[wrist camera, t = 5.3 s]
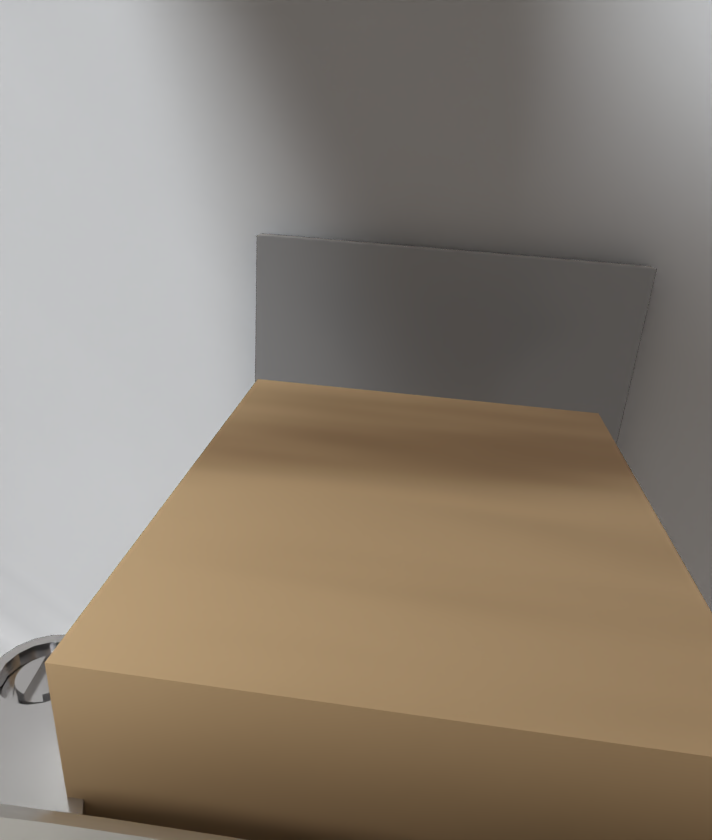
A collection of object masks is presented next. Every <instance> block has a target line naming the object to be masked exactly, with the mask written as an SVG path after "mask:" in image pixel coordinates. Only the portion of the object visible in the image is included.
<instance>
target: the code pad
mask: <svg viewBox="0 0 712 840" xmlns="http://www.w3.org/2000/svg"><path fill="white" fill-rule="evenodd" d="M656 270H657V269H656V268H653V267H651V266H645V265H633V264H621V263H609V262H597V261H585V260H573V259H561V258H549V257H538V256H526V255H514V254H502V253H490V252H478V251H466V250H454V249H442V248H430V247H418V246H406V245H395V244H383V243H371V242H359V241H347V240H335V239H323V238H311V237H299V236H287V235H275V234H264V233H262V234H259V235H257V259H256V345H255V382H256V381H257V379H263V380H273V381H283V382H293V383H303V384H312V385H322V386H332V387H342V388H352V389H362V390H372V391H382V392H392V393H402V394H412V395H422V396H431V397H441V398H451V399H461V400H471V401H481V402H491V403H501V404H511V405H521V406H531V407H541V408H550V409H560V410H570V411H580V412H590V413H599V415H600V417H601V419H602V420H603V422H604V424H605V426H606V427H607V429H608V431H609V433H610V434H611V436H612V438H613V440H614V441H615V443H617V439H618V434H619V430H620V426H621V421H622V417H623V413H624V409H625V404H626V400H627V396H628V391H629V387H630V383H631V378H632V374H633V370H634V365H635V361H636V357H637V352H638V348H639V344H640V339H641V335H642V331H643V326H644V322H645V318H646V313H647V309H648V305H649V300H650V296H651V292H652V287H653V283H654V279H655V274H656Z"/></svg>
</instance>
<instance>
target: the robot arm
mask: <svg viewBox="0 0 712 840" xmlns="http://www.w3.org/2000/svg"><path fill="white" fill-rule="evenodd" d="M64 636H65V635H50V636H45V637H40V638H36V639H33V640H30V641H28V642H25V643H23V644H21V645H18V646H16V647H15V648H13V649H12V650H10V651H9V652H7V653H6V654H4V655H3V656H2V657H1V658H0V840H246V839H240V838H233V837H227V836H220V835H214V834H207V833H201V832H194V831H188V830H181V829H175V828H168V827H162V826H155V825H149V824H143V823H136V822H130V821H123V820H117V819H110V818H103V817H96V816H88V815H86V810H85V803H84V799H78V798H72V797H67V794H66V788H65V782H64V776H63V770H62V764H61V758H60V752H59V746H58V740H57V734H56V728H55V722H54V716H53V710H52V704H51V698H50V692H49V686H48V680H47V674H46V668H45V661H46V660H47V659H48V657H49V656H50V655H51V653H52V652H53V651H54V649H55V648H56V647H57V645H58V644H59V643H60V641H61V640H62V639H63V637H64Z"/></svg>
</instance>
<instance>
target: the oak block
mask: <svg viewBox="0 0 712 840" xmlns="http://www.w3.org/2000/svg"><path fill="white" fill-rule="evenodd" d="M45 668H46V674H47V680H48V686H49V692H50V698H51V704H52V710H53V716H54V722H55V728H56V734H57V740H58V746H59V752H60V758H61V764H62V770H63V776H64V782H65V788H66V794H67V797H72V798H78V799H84V803H85V810H86V815H88V816H96V817H103V818H110V819H117V820H123V821H130V822H136V823H143V824H149V825H155V826H162V827H168V828H175V829H181V830H188V831H194V832H201V833H207V834H214V835H220V836H227V837H233V838H240V839H246V840H712V612H711V611H710V609H709V607H708V605H707V603H706V602H705V600H704V598H703V596H702V595H701V593H700V591H699V589H698V588H697V586H696V584H695V582H694V581H693V579H692V577H691V575H690V574H689V572H688V570H687V568H686V566H685V565H684V563H683V561H682V559H681V558H680V556H679V554H678V552H677V551H676V549H675V547H674V545H673V544H672V542H671V540H670V538H669V537H668V535H667V533H666V531H665V530H664V528H663V526H662V524H661V522H660V521H659V519H658V517H657V515H656V514H655V512H654V510H653V508H652V507H651V505H650V503H649V501H648V500H647V498H646V496H645V494H644V493H643V491H642V489H641V487H640V485H639V484H638V482H637V480H636V478H635V477H634V475H633V473H632V471H631V470H630V468H629V466H628V464H627V463H626V461H625V459H624V457H623V456H622V454H621V452H620V450H619V449H618V447H617V445H616V443H615V441H614V440H613V438H612V436H611V434H610V433H609V431H608V429H607V427H606V426H605V424H604V422H603V420H602V419H601V417H600V415H599V413H590V412H580V411H570V410H560V409H550V408H541V407H531V406H521V405H511V404H501V403H491V402H481V401H471V400H461V399H451V398H441V397H431V396H422V395H412V394H402V393H392V392H382V391H372V390H362V389H352V388H342V387H332V386H322V385H312V384H303V383H293V382H283V381H273V380H263V379H257V381H256V382H255V383H254V385H253V386H252V387H251V389H250V390H249V391H248V393H247V394H246V395H245V397H244V398H243V399H242V401H241V402H240V403H239V405H238V406H237V407H236V409H235V410H234V411H233V413H232V414H231V415H230V417H229V418H228V419H227V421H226V422H225V423H224V425H223V426H222V427H221V429H220V430H219V431H218V433H217V434H216V435H215V437H214V438H213V439H212V441H211V442H210V443H209V445H208V446H207V447H206V449H205V450H204V451H203V453H202V454H201V455H200V457H199V458H198V459H197V461H196V462H195V463H194V465H193V466H192V467H191V469H190V470H189V471H188V473H187V474H186V475H185V477H184V478H183V479H182V481H181V482H180V483H179V485H178V486H177V487H176V488H175V490H174V491H173V492H172V494H171V495H170V496H169V498H168V499H167V500H166V502H165V503H164V504H163V506H162V507H161V508H160V510H159V511H158V512H157V514H156V515H155V516H154V518H153V519H152V520H151V522H150V523H149V524H148V526H147V527H146V528H145V530H144V531H143V532H142V534H141V535H140V536H139V538H138V539H137V540H136V542H135V543H134V544H133V546H132V547H131V548H130V550H129V551H128V552H127V554H126V555H125V556H124V558H123V559H122V560H121V562H120V563H119V564H118V566H117V567H116V568H115V570H114V571H113V572H112V574H111V575H110V576H109V578H108V579H107V580H106V582H105V583H104V584H103V586H102V587H101V588H100V590H99V591H98V592H97V594H96V595H95V596H94V598H93V599H92V600H91V602H90V603H89V604H88V606H87V607H86V608H85V610H84V611H83V612H82V614H81V615H80V616H79V618H78V619H77V620H76V622H75V623H74V624H73V626H72V627H71V628H70V630H69V631H68V632H67V634H66V635H65V636H64V637H63V639H62V640H61V641H60V643H59V644H58V645H57V647H56V648H55V649H54V651H53V652H52V653H51V655H50V656H49V657H48V659H47V660H46V661H45Z"/></svg>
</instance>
